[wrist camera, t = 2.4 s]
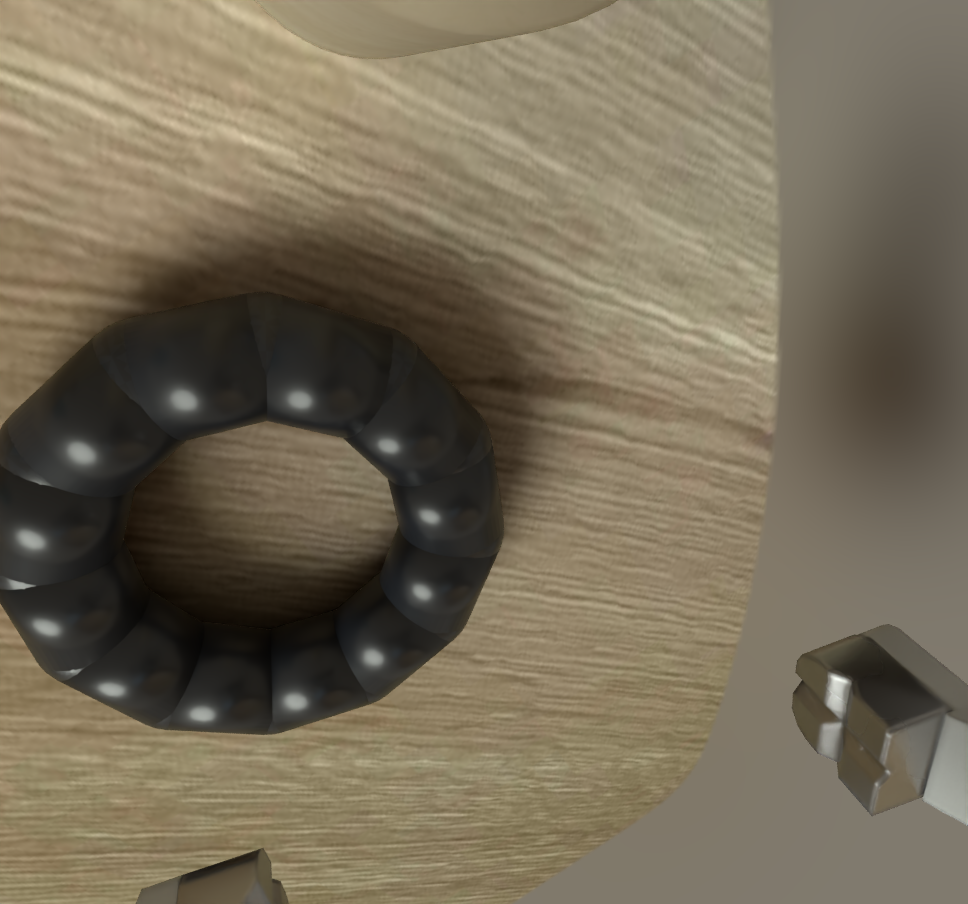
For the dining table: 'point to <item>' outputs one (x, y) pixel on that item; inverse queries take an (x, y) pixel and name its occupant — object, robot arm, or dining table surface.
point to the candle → (419, 22)
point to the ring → (212, 409)
